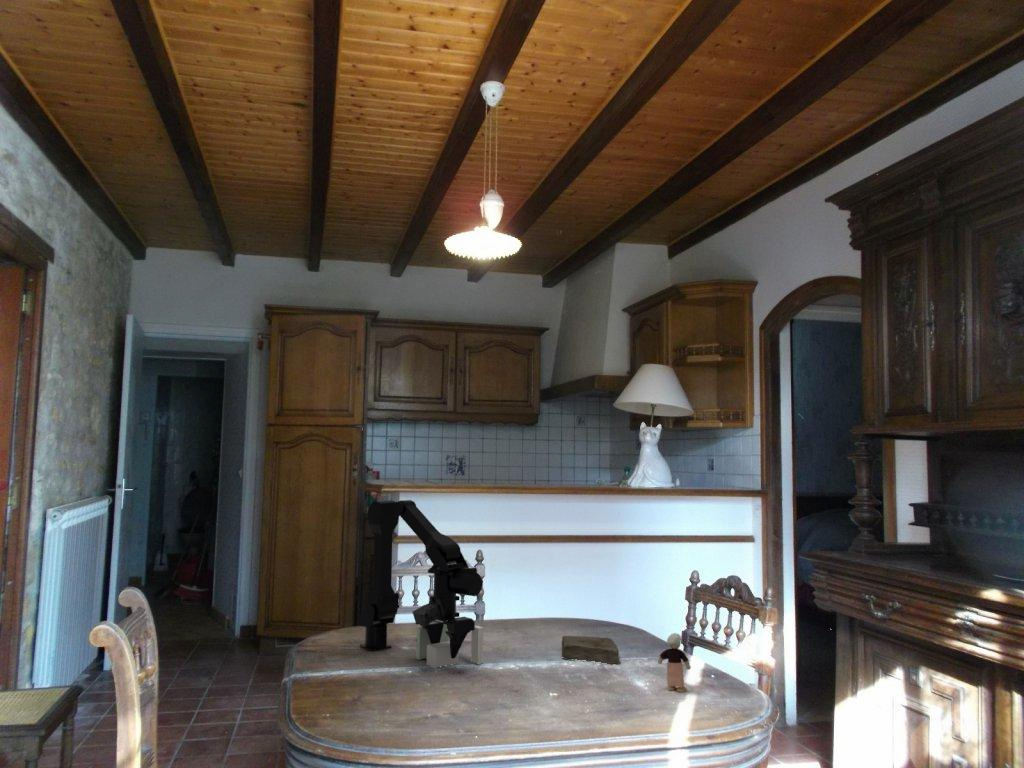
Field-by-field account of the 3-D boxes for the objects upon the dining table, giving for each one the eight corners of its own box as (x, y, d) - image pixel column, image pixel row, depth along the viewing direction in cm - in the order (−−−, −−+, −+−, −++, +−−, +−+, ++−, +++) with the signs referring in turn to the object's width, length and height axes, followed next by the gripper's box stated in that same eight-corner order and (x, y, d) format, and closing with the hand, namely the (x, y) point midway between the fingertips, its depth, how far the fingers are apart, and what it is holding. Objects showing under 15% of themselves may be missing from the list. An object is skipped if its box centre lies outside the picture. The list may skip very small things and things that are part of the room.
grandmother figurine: (692, 688, 184) (692, 632, 185) (690, 693, 181) (690, 636, 182) (658, 685, 187) (658, 629, 188) (656, 689, 183) (656, 633, 184)
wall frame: (438, 649, 216) (438, 616, 217) (442, 649, 217) (443, 615, 217) (477, 664, 202) (478, 628, 203) (482, 663, 203) (483, 627, 204)
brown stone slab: (619, 666, 204) (619, 649, 204) (561, 664, 205) (561, 648, 205) (614, 649, 221) (614, 634, 221) (561, 648, 221) (561, 632, 222)
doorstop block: (426, 665, 201) (427, 644, 202) (449, 660, 206) (449, 641, 206) (435, 668, 198) (435, 648, 198) (458, 664, 202) (458, 644, 203)
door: (441, 650, 214) (442, 621, 215) (448, 652, 212) (448, 622, 213) (413, 657, 206) (413, 627, 207) (419, 659, 205) (420, 628, 206)
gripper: (398, 590, 205) (397, 652, 204) (439, 600, 191) (438, 667, 189) (434, 586, 212) (434, 646, 211) (476, 595, 198) (476, 660, 196)
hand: (444, 655), depth 201 cm, fingers open, 8 cm apart
